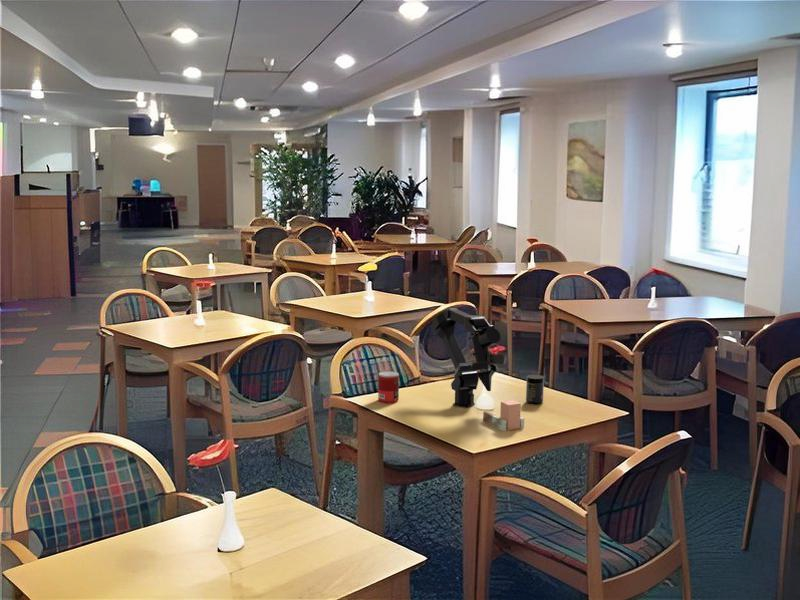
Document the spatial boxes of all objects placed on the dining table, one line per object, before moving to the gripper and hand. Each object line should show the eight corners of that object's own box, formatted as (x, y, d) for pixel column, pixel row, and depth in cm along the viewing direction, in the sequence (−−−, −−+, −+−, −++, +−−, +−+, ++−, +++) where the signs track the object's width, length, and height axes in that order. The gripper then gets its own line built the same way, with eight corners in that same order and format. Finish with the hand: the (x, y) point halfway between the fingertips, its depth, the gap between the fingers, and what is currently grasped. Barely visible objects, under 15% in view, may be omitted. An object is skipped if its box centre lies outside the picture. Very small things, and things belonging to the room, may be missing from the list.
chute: (483, 420, 305) (483, 411, 304) (503, 418, 309) (503, 408, 308) (503, 431, 293) (503, 421, 293) (524, 427, 297) (524, 418, 297)
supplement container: (541, 405, 325) (542, 379, 324) (524, 404, 328) (525, 378, 326) (544, 401, 332) (545, 375, 330) (527, 399, 334) (528, 374, 332)
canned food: (398, 403, 326) (398, 376, 325) (377, 403, 326) (377, 375, 325) (398, 398, 334) (399, 371, 332) (378, 398, 334) (378, 370, 332)
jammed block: (500, 426, 298) (500, 401, 297) (511, 424, 301) (512, 400, 299) (507, 430, 294) (508, 405, 293) (519, 428, 296) (520, 403, 295)
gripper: (496, 342, 300) (505, 385, 297) (507, 347, 318) (515, 388, 315) (467, 348, 304) (475, 391, 300) (478, 353, 321) (486, 393, 318)
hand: (489, 391), depth 308 cm, fingers closed
